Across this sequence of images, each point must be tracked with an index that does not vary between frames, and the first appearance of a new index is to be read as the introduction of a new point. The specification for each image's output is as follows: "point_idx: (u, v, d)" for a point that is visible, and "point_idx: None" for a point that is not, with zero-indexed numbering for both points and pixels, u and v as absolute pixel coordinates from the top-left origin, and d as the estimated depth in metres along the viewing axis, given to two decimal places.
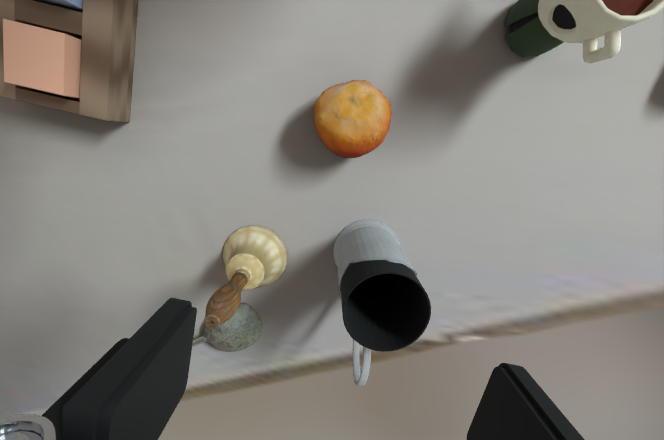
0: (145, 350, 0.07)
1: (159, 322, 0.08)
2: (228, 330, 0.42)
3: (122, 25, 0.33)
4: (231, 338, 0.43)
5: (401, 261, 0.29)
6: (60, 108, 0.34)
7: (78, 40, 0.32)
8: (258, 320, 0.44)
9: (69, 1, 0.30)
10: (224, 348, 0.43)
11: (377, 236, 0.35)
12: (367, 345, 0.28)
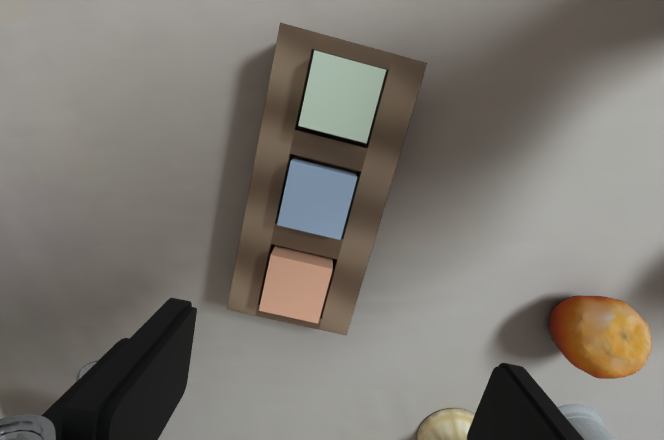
0: (145, 350, 0.07)
1: (159, 322, 0.08)
2: None
3: None
4: None
5: None
6: (300, 323, 0.32)
7: None
8: None
9: None
10: None
11: None
12: None
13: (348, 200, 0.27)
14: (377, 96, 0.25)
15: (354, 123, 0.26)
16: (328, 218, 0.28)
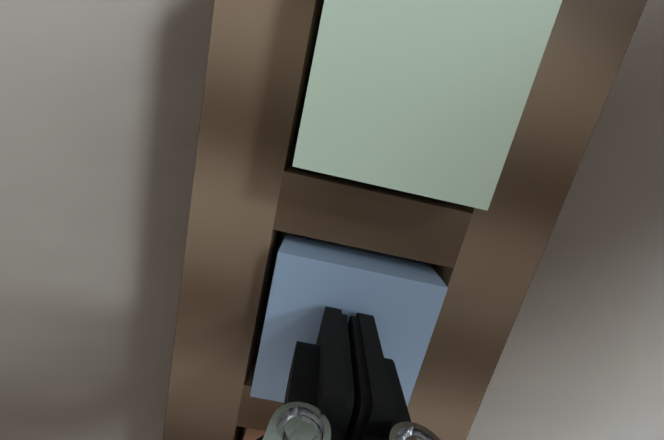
0: (342, 351, 0.08)
1: (335, 327, 0.09)
2: None
3: None
4: None
5: None
6: None
7: None
8: None
9: None
10: None
11: None
12: None
13: (423, 340, 0.11)
14: (531, 74, 0.08)
15: (457, 155, 0.09)
16: None
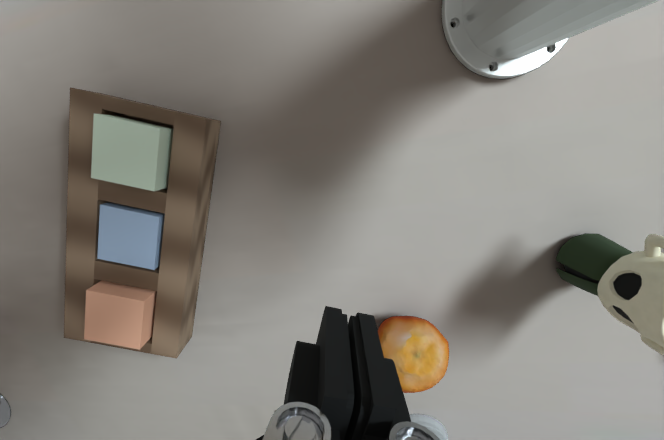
0: (342, 351, 0.08)
1: (335, 327, 0.09)
2: None
3: (193, 272, 0.35)
4: None
5: None
6: None
7: (153, 294, 0.34)
8: None
9: (156, 267, 0.33)
10: None
11: None
12: None
13: (155, 236, 0.32)
14: (156, 151, 0.28)
15: (140, 174, 0.29)
16: (140, 252, 0.32)
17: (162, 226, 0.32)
